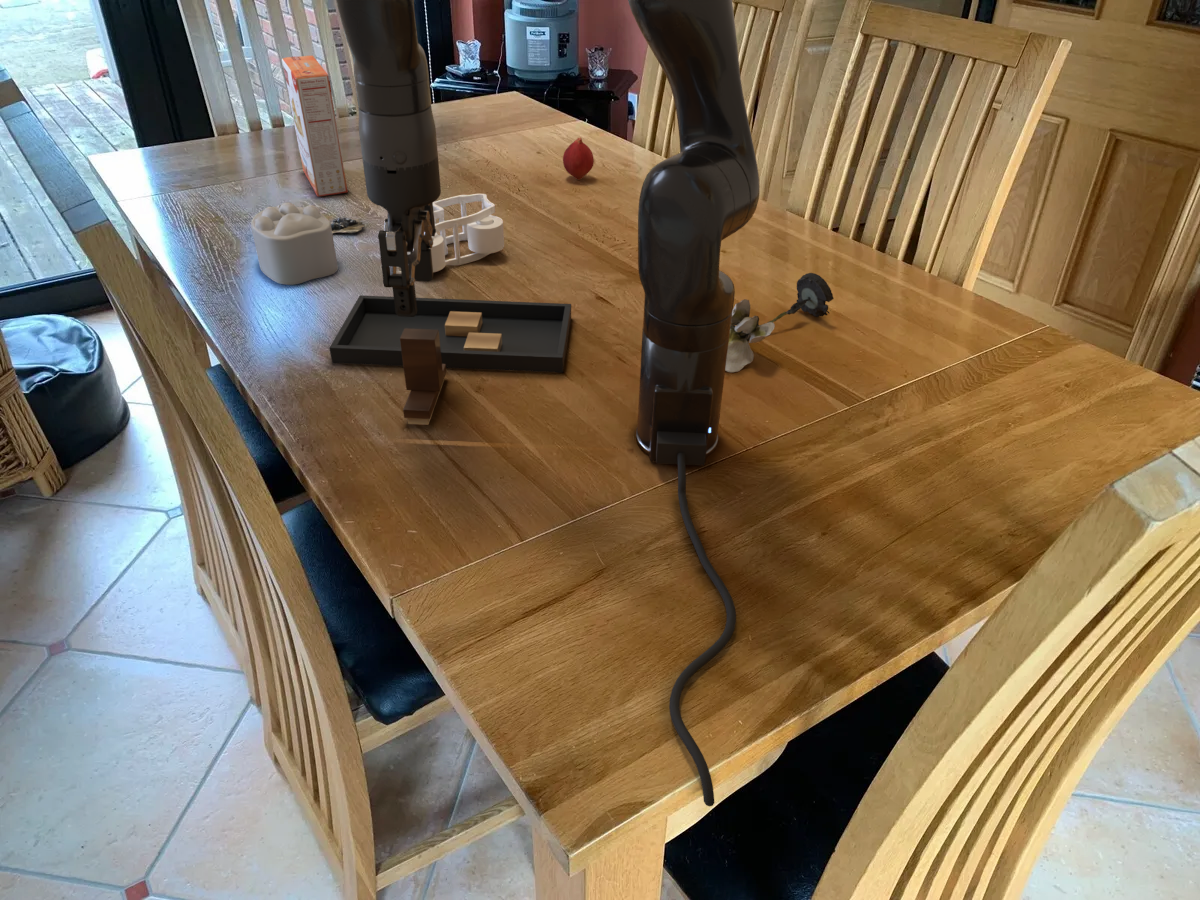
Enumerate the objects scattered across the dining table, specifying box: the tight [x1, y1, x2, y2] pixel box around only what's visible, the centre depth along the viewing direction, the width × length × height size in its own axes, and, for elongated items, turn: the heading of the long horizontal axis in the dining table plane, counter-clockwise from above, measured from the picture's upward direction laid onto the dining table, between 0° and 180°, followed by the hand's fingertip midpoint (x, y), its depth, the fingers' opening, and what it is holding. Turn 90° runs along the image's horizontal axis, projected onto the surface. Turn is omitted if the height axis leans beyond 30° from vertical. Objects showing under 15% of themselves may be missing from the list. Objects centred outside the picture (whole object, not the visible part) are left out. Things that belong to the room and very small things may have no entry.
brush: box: [400, 328, 447, 426], centre depth 105 cm, size 10×4×10 cm, turn 177°
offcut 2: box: [464, 332, 502, 352], centre depth 117 cm, size 4×4×2 cm
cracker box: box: [281, 54, 349, 198], centre depth 160 cm, size 14×6×21 cm, turn 25°
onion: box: [562, 137, 595, 181], centre depth 169 cm, size 6×6×8 cm
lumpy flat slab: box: [330, 216, 366, 234], centre depth 149 cm, size 7×8×2 cm
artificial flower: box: [725, 272, 835, 374], centre depth 120 cm, size 9×22×10 cm, turn 128°
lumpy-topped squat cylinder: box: [250, 202, 339, 286], centre depth 136 cm, size 10×13×9 cm
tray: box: [328, 294, 572, 374], centre depth 119 cm, size 15×30×3 cm, turn 87°
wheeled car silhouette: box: [396, 193, 505, 274], centre depth 139 cm, size 20×11×7 cm, turn 132°
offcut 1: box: [445, 311, 482, 336], centre depth 121 cm, size 4×4×2 cm
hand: (415, 296), depth 100 cm, fingers open, 8 cm apart
